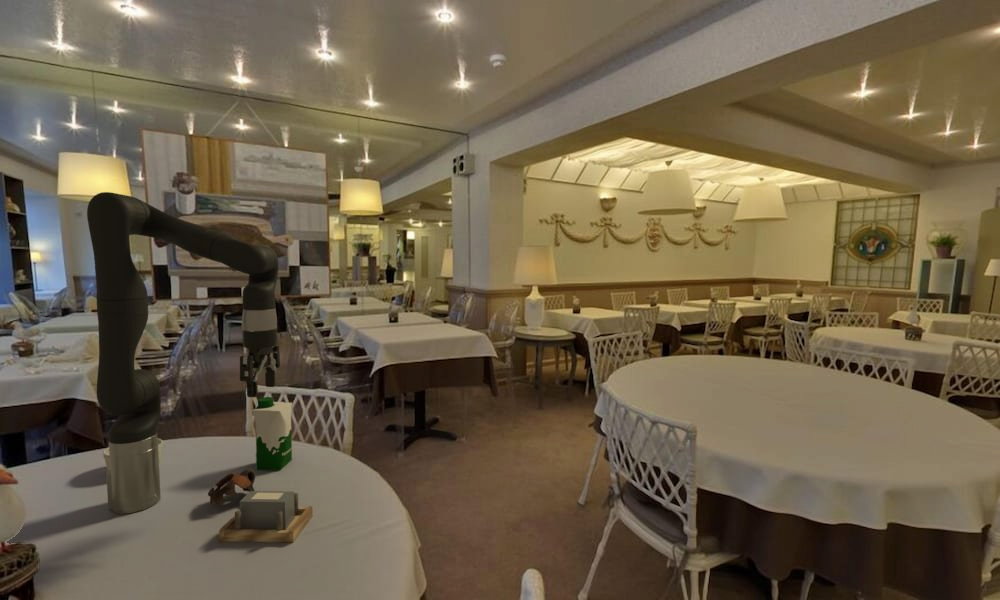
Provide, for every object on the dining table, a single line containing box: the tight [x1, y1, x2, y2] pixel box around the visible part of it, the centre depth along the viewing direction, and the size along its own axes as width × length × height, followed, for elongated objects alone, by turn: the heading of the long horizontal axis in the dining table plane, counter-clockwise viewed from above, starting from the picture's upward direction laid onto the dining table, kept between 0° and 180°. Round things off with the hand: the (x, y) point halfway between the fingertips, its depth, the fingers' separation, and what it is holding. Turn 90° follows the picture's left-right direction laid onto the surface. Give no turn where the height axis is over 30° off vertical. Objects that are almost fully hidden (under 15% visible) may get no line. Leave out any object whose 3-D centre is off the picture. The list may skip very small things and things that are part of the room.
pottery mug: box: [207, 468, 256, 505], centre depth 113 cm, size 12×10×8 cm
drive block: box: [239, 490, 295, 530], centre depth 102 cm, size 10×4×7 cm, turn 91°
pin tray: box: [218, 492, 313, 543], centre depth 102 cm, size 16×10×6 cm, turn 90°
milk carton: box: [252, 396, 293, 471], centre depth 132 cm, size 9×9×20 cm
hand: (261, 391), depth 111 cm, fingers open, 8 cm apart
